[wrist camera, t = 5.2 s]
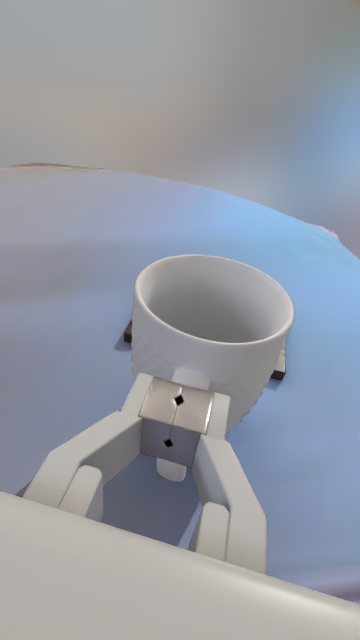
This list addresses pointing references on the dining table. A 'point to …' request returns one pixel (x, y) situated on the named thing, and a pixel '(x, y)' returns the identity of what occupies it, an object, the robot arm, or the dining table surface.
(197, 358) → the mug
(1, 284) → the dining table surface
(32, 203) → the dining table surface
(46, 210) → the dining table surface
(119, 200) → the dining table surface
